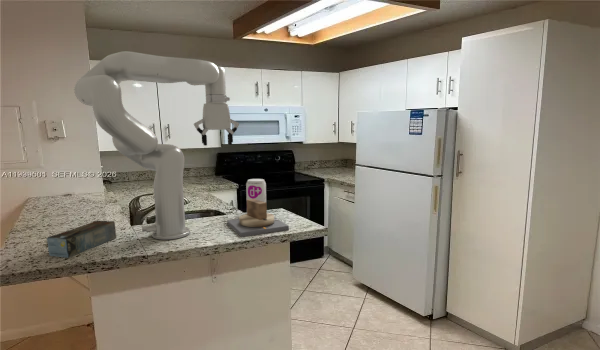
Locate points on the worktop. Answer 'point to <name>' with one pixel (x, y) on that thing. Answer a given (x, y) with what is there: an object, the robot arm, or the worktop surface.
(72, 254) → the beverage carton
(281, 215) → the worktop surface
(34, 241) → the worktop surface
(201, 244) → the worktop surface
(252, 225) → the dial
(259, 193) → the supplement can
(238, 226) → the dial base
